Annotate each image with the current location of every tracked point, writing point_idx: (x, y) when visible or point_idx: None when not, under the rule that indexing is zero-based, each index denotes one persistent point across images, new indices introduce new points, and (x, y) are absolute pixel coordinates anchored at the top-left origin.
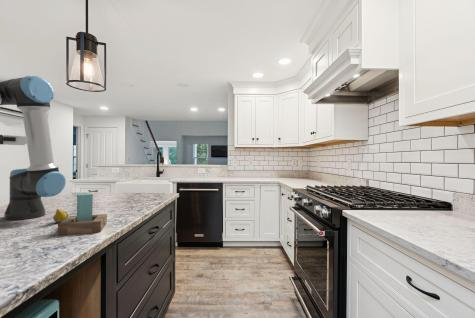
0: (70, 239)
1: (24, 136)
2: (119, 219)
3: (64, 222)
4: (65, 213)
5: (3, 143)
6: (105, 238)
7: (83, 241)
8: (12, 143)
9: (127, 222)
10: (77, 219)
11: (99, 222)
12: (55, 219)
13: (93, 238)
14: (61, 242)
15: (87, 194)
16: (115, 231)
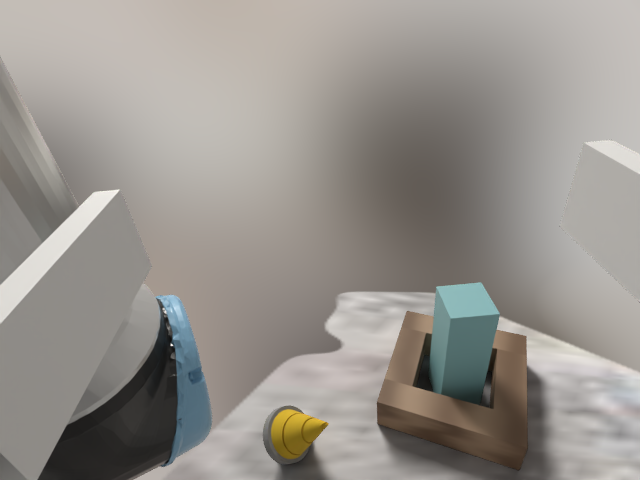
0: (594, 438)
1: (635, 154)
2: (372, 302)
3: (498, 425)
4: (296, 411)
5: (30, 467)
6: (603, 358)
7: (629, 408)
8: (94, 347)
9: (425, 293)
10: (455, 385)
11: (525, 340)
12: (296, 457)
13: (596, 382)
14: (630, 466)
15: (479, 294)
16: (526, 329)
